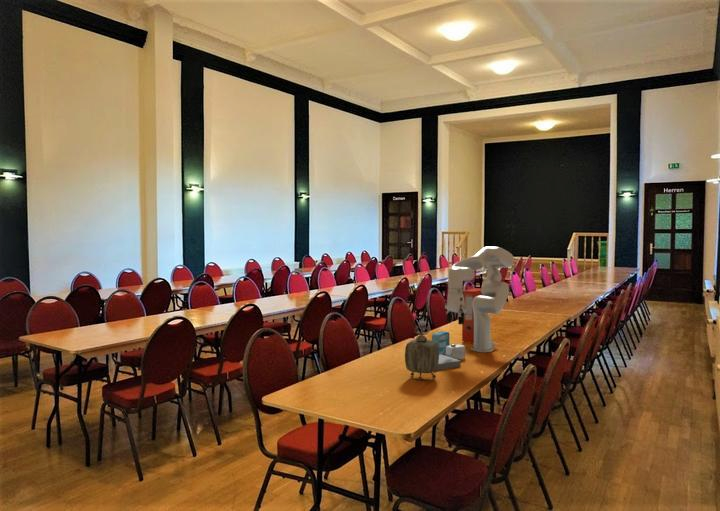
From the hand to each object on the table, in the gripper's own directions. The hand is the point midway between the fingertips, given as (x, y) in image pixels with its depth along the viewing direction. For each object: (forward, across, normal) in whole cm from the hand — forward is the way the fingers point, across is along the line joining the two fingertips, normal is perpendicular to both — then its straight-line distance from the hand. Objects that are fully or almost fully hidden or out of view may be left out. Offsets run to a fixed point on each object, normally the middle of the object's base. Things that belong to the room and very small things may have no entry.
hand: (455, 322), depth 283 cm
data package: (+20, +13, 0) cm, 24 cm away
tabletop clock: (+20, -22, +38) cm, 48 cm away
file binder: (+20, +31, -40) cm, 55 cm away
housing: (+20, 0, 0) cm, 20 cm away
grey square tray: (+20, -6, +16) cm, 26 cm away
